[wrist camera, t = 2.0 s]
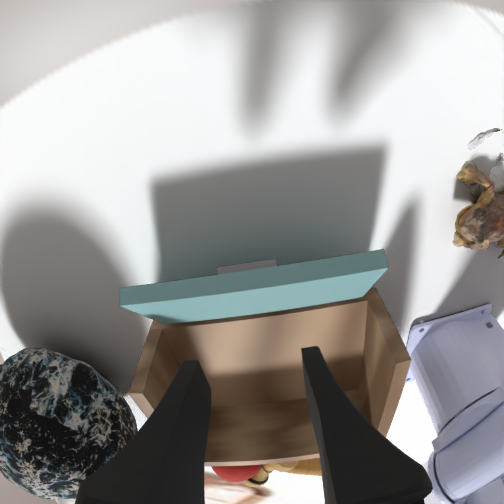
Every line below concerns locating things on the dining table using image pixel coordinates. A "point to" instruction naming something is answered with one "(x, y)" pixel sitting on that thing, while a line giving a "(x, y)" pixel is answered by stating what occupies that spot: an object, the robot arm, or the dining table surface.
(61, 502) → the flower in vase
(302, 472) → the kendama
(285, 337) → the crate
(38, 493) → the decorative stone
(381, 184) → the dining table surface
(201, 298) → the lid
